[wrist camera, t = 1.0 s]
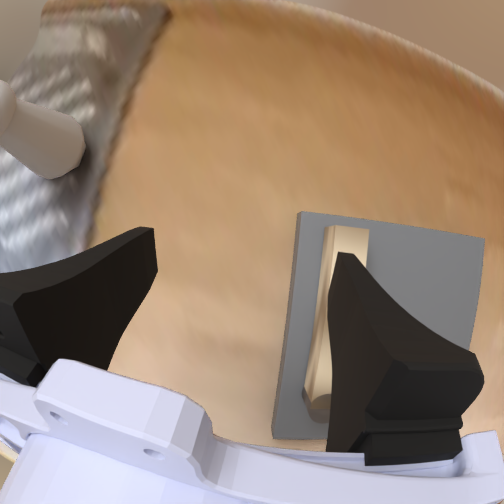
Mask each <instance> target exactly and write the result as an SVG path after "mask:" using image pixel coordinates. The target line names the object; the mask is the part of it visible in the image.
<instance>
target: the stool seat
mask: <svg viewBox="0 0 504 504" xmlns="http://www.w3.org/2000/svg"><path fill="white" fill-rule="evenodd" d="M334 225H339V226H347V227H355V228H363V229H369V239H368V250H367V260H366V269H367V270H368V271H369V273H370V274H371V275H372V276H373V278H374V279H375V280H376V281H377V282H378V283H379V284H380V286H381V287H382V288H383V289H384V290H385V291H386V292H387V293H388V294H389V295H390V296H391V297H392V298H393V299H394V300H395V301H396V302H397V303H398V304H399V305H400V306H401V307H402V308H404V309H405V310H406V311H407V312H408V313H409V314H410V315H412V316H413V317H414V318H415V319H417V320H418V321H419V322H421V323H422V324H424V325H425V326H426V327H428V328H429V329H431V330H432V331H434V332H435V333H437V334H438V335H440V336H442V337H443V338H445V339H447V340H448V341H450V342H452V343H454V344H456V345H458V346H460V347H462V348H464V349H466V350H468V351H469V346H470V342H471V337H472V332H473V327H474V322H475V317H476V311H477V305H478V298H479V291H480V284H481V276H482V267H483V256H484V243H485V239H484V238H479V237H473V236H468V235H462V234H456V233H450V232H445V231H439V230H433V229H426V228H420V227H414V226H407V225H401V224H394V223H388V222H381V221H374V220H367V219H359V218H352V217H344V216H337V215H329V214H321V213H313V212H304V211H301V212H299V213H297V223H296V234H295V244H294V254H293V263H292V273H291V282H290V291H289V300H288V308H287V317H286V325H285V333H284V341H283V348H282V356H281V363H280V371H279V378H278V385H277V392H276V399H275V406H274V412H273V419H272V425H271V429H272V436H273V439H327V437H328V428H329V423H324V424H321V423H317V422H314V421H313V420H312V419H311V418H310V416H309V414H308V411H307V408H306V406H305V403H304V400H303V398H302V390H303V387H304V384H305V378H306V372H307V366H308V359H309V353H310V346H311V339H312V332H313V325H314V318H315V311H316V303H317V295H318V286H319V278H320V269H321V260H322V250H323V240H324V229H325V227H328V226H334Z"/></svg>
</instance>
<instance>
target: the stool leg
mask: <svg viewBox="0 0 504 504" xmlns="http://www.w3.org/2000/svg"><path fill="white" fill-rule="evenodd" d="M368 239H369V229H363V228H355V227H347V226H339V225H334V226H328V227H325V229H324V240H323V250H322V260H321V269H320V278H319V286H318V295H317V303H316V311H315V318H314V325H313V332H312V339H311V346H310V353H309V359H308V366H307V372H306V378H305V384H304V387H303V390H302V398H303V400H304V403H305V406H306V408H307V411H308V414H309V416H310V418H311V419H312V420H313V421H314V422H317V423H321V424H324V423H329V418H330V405H331V388H332V361H331V350H330V340H329V330H328V320H327V303H328V292H329V288H330V284H331V280H332V275H333V271H334V267H335V262H336V258H337V254H338V252H346V253H353V254H354V255H355V256H356V257H357V258H358V259H359V260H360V262H361V263H362V264H363V265H364V267H365V268H366V260H367V250H368Z"/></svg>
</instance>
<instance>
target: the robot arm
mask: <svg viewBox="0 0 504 504" xmlns="http://www.w3.org/2000/svg"><path fill="white" fill-rule="evenodd" d="M157 272H158V267H157V258H156V249H155V239H154V228H148V227H137V228H134V229H132V230H129V231H127V232H125V233H123V234H120V235H118V236H116V237H114V238H112V239H110V240H108V241H106V242H104V243H101V244H99V245H97V246H95V247H93V248H90V249H88V250H86V251H84V252H81V253H79V254H77V255H74V256H71V257H69V258H66V259H63V260H60V261H57V262H54V263H50V264H46V265H43V266H39V267H35V268H31V269H26V270H21V271H15V272H8V273H0V441H1V442H2V443H4V444H5V445H6V446H8V447H9V448H11V449H12V450H13V451H15V452H16V453H18V454H19V456H18V457H17V459H16V461H15V463H14V465H13V467H12V469H11V471H10V473H9V475H8V477H7V479H6V481H5V483H4V485H3V487H2V489H1V491H0V504H497V503H499V502H501V501H502V500H504V461H503V456H502V452H501V448H500V444H499V441H498V437H497V433H496V431H495V430H490V431H484V432H478V433H472V434H468V435H466V436H463V437H462V438H460V434H459V429H461V428H462V426H463V422H462V418H461V415H462V414H463V413H464V412H465V411H466V409H467V408H468V407H469V406H470V405H471V404H472V403H473V401H474V400H475V399H476V398H477V396H478V395H479V393H480V392H481V390H482V388H483V385H484V375H483V372H482V370H481V367H480V365H479V362H478V360H477V357H476V355H475V354H474V353H472V352H470V351H468V350H466V349H464V348H462V347H460V346H458V345H456V344H454V343H452V342H450V341H448V340H447V339H445V338H443V337H442V336H440V335H438V334H437V333H435V332H434V331H432V330H431V329H429V328H428V327H426V326H425V325H424V324H422V323H421V322H419V321H418V320H417V319H415V318H414V317H413V316H412V315H410V314H409V313H408V312H407V311H406V310H405V309H404V308H402V307H401V306H400V305H399V304H398V303H397V302H396V301H395V300H394V299H393V298H392V297H391V296H390V295H389V294H388V293H387V292H386V291H385V290H384V289H383V288H382V287H381V286H380V284H379V283H378V282H377V281H376V280H375V279H374V278H373V276H372V275H371V274H370V273H369V271H368V270H367V269H366V268H365V267H364V265H363V264H362V263H361V262H360V260H359V259H358V258H357V257H356V256H355V255H354V254H353V253H346V252H338V254H337V258H336V262H335V267H334V271H333V275H332V280H331V284H330V288H329V292H328V303H327V320H328V330H329V340H330V350H331V361H332V388H331V405H330V418H329V428H328V437H327V445H326V452H318V451H304V450H293V449H283V448H274V447H266V446H259V445H252V444H245V443H239V442H234V441H231V440H228V439H225V438H222V437H219V436H216V435H214V434H213V431H212V422H211V420H210V418H209V417H208V415H207V413H206V411H205V410H204V409H203V407H202V406H200V405H199V404H198V403H196V402H195V401H193V400H192V399H190V398H189V397H188V396H186V395H184V394H181V393H179V392H176V391H173V390H171V389H168V388H166V387H163V386H159V385H155V384H151V383H147V382H143V381H140V380H136V379H133V378H129V377H126V376H122V375H119V374H116V373H112V372H109V371H107V370H108V367H109V364H110V362H111V359H112V357H113V354H114V352H115V350H116V347H117V345H118V343H119V340H120V338H121V336H122V334H123V332H124V331H125V329H126V327H127V326H128V324H129V322H130V321H131V319H132V317H133V316H134V314H135V313H136V311H137V309H138V308H139V306H140V305H141V303H142V301H143V300H144V298H145V297H146V295H147V293H148V292H149V290H150V288H151V286H152V284H153V281H154V279H155V277H156V274H157Z"/></svg>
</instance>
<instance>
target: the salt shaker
mask: <svg viewBox="0 0 504 504" xmlns="http://www.w3.org/2000/svg"><path fill="white" fill-rule="evenodd" d="M0 146H1V147H2V148H4V149H5V150H6V151H7V152H9V153H10V154H11V155H12V156H14V157H15V158H16V159H17V160H19V161H20V162H21V163H22V164H24V165H25V166H26V167H27V168H29V169H30V170H31V171H33V172H34V173H35V174H36V175H38V176H40V177H43V178H45V179H54V178H58V177H61V176H63V175H65V174H66V173H68V172H69V171H71V170H72V169H74V168H76V167H78V166H79V165H80V162H81V159H82V157H83V154H84V152H85V149H86V144H85V141H84V136H83V131H82V127H81V126H80V125H79V123H78V122H77V121H76V120H75V119H74V118H73V117H72V116H69V115H66V114H63V113H60V112H57V111H54V110H51V109H48V108H45V107H42V106H39V105H36V104H33V103H29V102H26V101H23V100H20V99H16V95H15V93H14V91H13V90H12V88H11V87H10V85H8V84H7V83H6V82H4V81H1V80H0Z"/></svg>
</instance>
